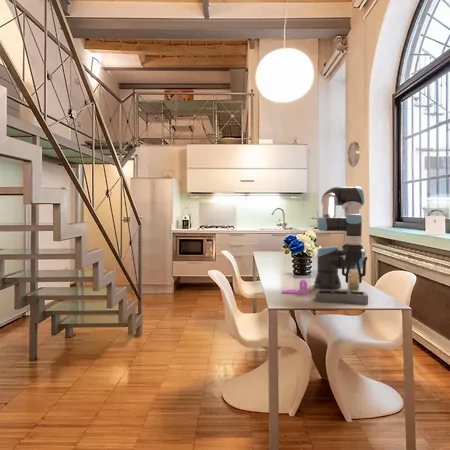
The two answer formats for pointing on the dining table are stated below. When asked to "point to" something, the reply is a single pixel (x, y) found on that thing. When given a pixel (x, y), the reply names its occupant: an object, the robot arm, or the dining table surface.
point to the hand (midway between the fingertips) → (353, 289)
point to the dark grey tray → (341, 296)
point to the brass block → (353, 281)
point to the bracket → (301, 291)
